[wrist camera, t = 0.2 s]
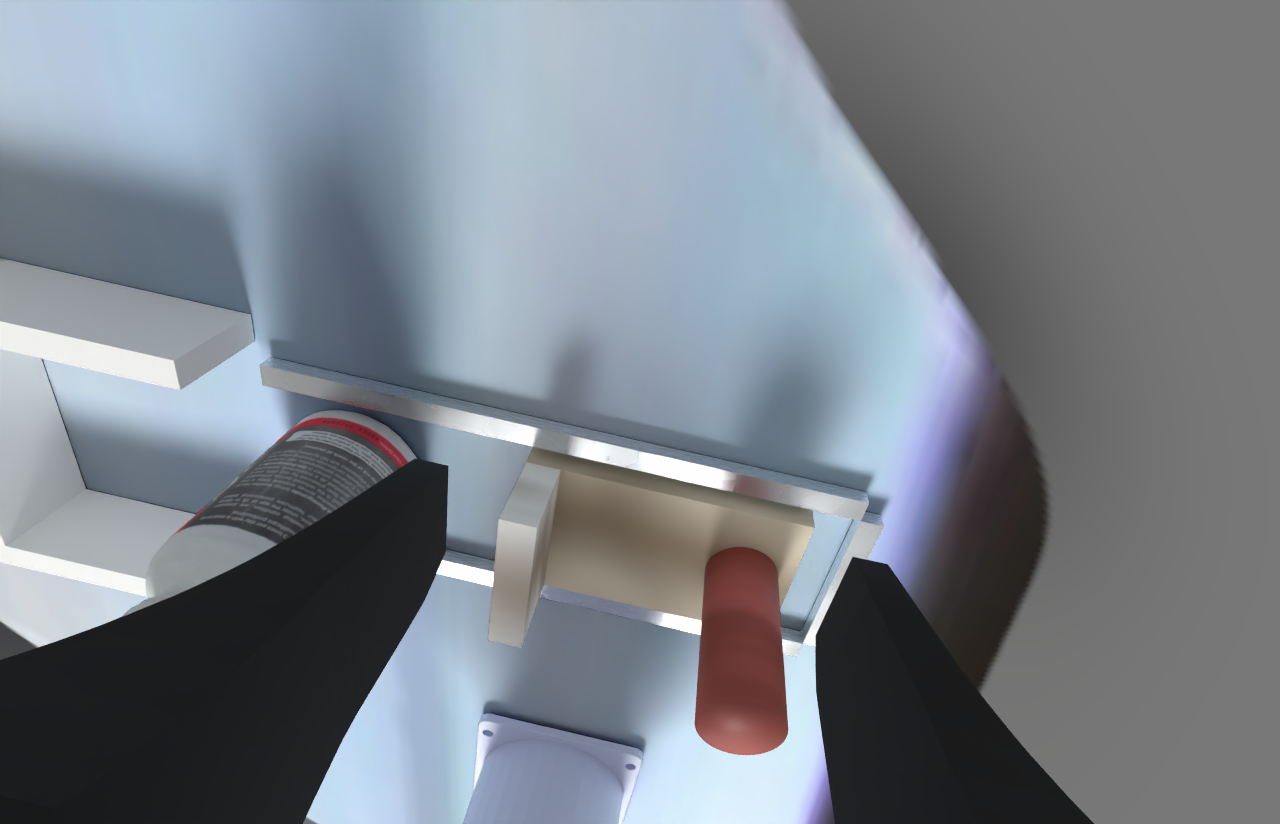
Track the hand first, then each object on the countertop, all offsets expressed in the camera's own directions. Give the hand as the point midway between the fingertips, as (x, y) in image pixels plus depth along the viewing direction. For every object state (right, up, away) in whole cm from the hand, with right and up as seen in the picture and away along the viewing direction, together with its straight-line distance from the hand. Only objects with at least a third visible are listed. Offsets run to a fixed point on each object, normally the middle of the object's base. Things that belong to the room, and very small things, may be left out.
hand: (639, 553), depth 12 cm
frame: (-18, +2, +13) cm, 23 cm away
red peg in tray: (+1, -2, +13) cm, 13 cm away
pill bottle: (-11, 0, +13) cm, 17 cm away
